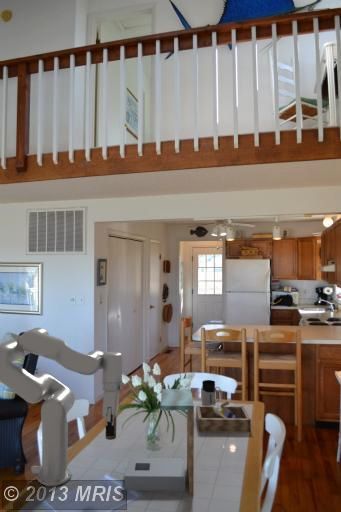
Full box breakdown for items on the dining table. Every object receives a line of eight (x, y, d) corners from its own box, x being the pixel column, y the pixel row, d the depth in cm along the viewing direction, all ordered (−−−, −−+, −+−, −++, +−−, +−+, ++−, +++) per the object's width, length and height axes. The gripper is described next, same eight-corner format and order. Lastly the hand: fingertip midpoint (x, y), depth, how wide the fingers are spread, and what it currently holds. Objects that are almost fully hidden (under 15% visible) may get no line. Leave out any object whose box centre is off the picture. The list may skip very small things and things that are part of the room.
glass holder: (208, 403, 236) (208, 378, 237) (225, 410, 225) (225, 384, 226) (198, 406, 231) (198, 381, 231) (215, 413, 219) (215, 386, 220)
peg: (104, 439, 148) (105, 412, 148) (106, 435, 152) (107, 409, 152) (115, 439, 148) (115, 413, 148) (116, 435, 152) (117, 409, 152)
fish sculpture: (215, 392, 212) (217, 401, 197) (247, 409, 211) (252, 419, 196) (204, 412, 212) (206, 423, 197) (237, 430, 211) (241, 441, 196)
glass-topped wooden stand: (159, 495, 139) (160, 405, 140) (161, 467, 159) (161, 389, 160) (193, 495, 139) (193, 405, 140) (190, 467, 159) (190, 389, 160)
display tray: (198, 431, 195) (198, 419, 195) (196, 416, 215) (196, 405, 215) (250, 431, 195) (250, 419, 195) (243, 417, 215) (243, 406, 215)
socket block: (124, 490, 142) (124, 476, 142) (128, 470, 156) (128, 457, 156) (184, 490, 142) (184, 476, 142) (183, 471, 156) (183, 458, 156)
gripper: (105, 378, 159) (104, 424, 158) (98, 391, 142) (96, 442, 141) (124, 379, 159) (123, 424, 158) (118, 391, 142) (117, 442, 141)
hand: (110, 432), depth 150 cm, fingers closed on peg, 4 cm apart
